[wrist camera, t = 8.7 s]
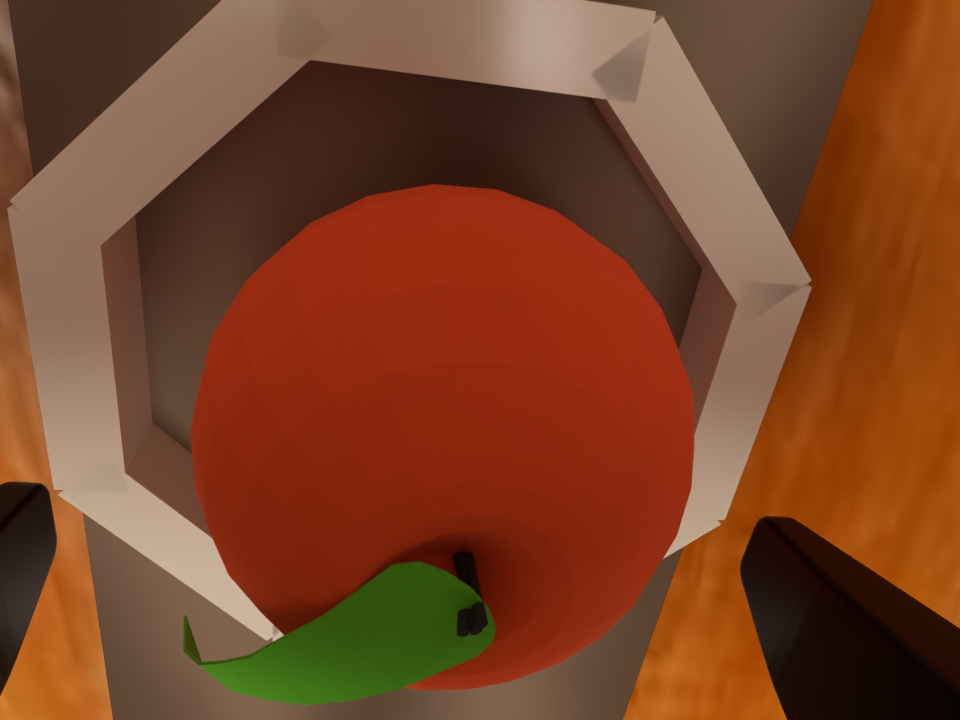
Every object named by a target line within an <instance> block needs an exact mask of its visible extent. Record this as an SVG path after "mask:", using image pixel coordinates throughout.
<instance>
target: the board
mask: <svg viewBox="0 0 960 720" xmlns="http://www.w3.org/2000/svg"><path fill="white" fill-rule="evenodd" d="M220 1H221V0H8V4H9V11H10V18H11V25H12V32H13V38H14V45H15V52H16V59H17V66H18V73H19V79H20V86H21V93H22V100H23V107H24V114H25V120H26V127H27V134H28V141H29V148H30V155H31V161H32V168H33V175H34V177H35V176H36V175H37V174H38V173H39V172H40V171H41V170H42V169H44V168H45V167H46V166H47V165H48V164H49V163H50V162H51V161H52V160H53V159H54V158H55V157H56V156H57V155H58V154H59V153H60V152H62V151H63V150H64V149H65V148H66V147H67V146H68V145H69V144H70V143H71V142H72V141H73V140H74V139H75V138H76V137H77V136H78V135H80V134H81V133H82V132H83V131H84V130H85V129H86V128H87V127H88V126H89V125H90V124H91V123H92V122H93V121H94V120H95V119H96V118H98V117H99V116H100V115H101V114H102V113H103V112H104V111H105V110H106V109H107V108H108V107H109V106H110V105H111V104H112V103H113V102H114V101H116V100H117V99H118V98H119V97H120V96H121V95H122V94H123V93H124V92H125V91H126V90H127V89H128V88H129V87H130V86H131V85H132V84H134V83H135V82H136V81H137V80H138V79H139V78H140V77H141V76H142V75H143V74H144V73H145V72H146V71H147V70H148V69H149V68H150V67H152V66H153V65H154V64H155V63H156V62H157V61H158V60H159V59H160V58H161V57H162V56H163V55H164V54H165V53H166V52H167V51H169V50H170V49H171V48H172V47H173V46H174V45H175V44H176V43H177V42H178V41H179V40H180V39H181V38H182V37H183V36H184V35H185V34H187V33H188V32H189V31H190V30H191V29H192V28H193V27H194V26H195V25H196V24H197V23H198V22H199V21H200V20H201V19H202V18H203V17H205V16H206V15H207V14H208V13H209V12H210V11H211V10H212V9H213V8H214V7H215V6H216V5H217V4H218V3H219V2H220ZM592 1H599V2H605V3H612V4H618V5H624V6H630V7H635V8H640V9H646V10H651V11H656V14H655V15H658V16H663V17H664V19H665V20H666V22H667V24H668V26H669V27H670V29H671V31H672V33H673V35H674V36H675V38H676V40H677V42H678V43H679V45H680V47H681V49H682V51H683V52H684V54H685V56H686V58H687V59H688V61H689V63H690V65H691V67H692V68H693V70H694V72H695V74H696V75H697V77H698V79H699V81H700V83H701V84H702V86H703V88H704V90H705V91H706V93H707V95H708V97H709V99H710V100H711V102H712V104H713V106H714V107H715V109H716V111H717V113H718V115H719V116H720V118H721V120H722V122H723V123H724V125H725V127H726V129H727V131H728V132H729V134H730V136H731V138H732V139H733V141H734V143H735V145H736V147H737V148H738V150H739V152H740V154H741V155H742V157H743V159H744V161H745V163H746V164H747V166H748V168H749V170H750V171H751V173H752V175H753V177H754V179H755V180H756V182H757V184H758V186H759V187H760V189H761V191H762V193H763V195H764V196H765V198H766V200H767V202H768V203H769V205H770V207H771V209H772V211H773V212H774V214H775V216H776V218H777V219H778V221H779V223H780V225H781V227H782V228H783V230H784V232H785V234H786V235H787V237H788V239H789V241H790V238H791V236H792V233H793V230H794V227H795V224H796V221H797V218H798V215H799V213H800V210H801V207H802V204H803V201H804V198H805V195H806V192H807V190H808V187H809V184H810V181H811V178H812V175H813V172H814V170H815V167H816V164H817V161H818V158H819V155H820V152H821V149H822V147H823V144H824V141H825V138H826V135H827V132H828V129H829V127H830V124H831V121H832V118H833V115H834V112H835V109H836V106H837V104H838V101H839V98H840V95H841V92H842V89H843V86H844V83H845V81H846V78H847V75H848V72H849V69H850V66H851V63H852V61H853V58H854V55H855V52H856V49H857V46H858V43H859V40H860V38H861V35H862V32H863V29H864V26H865V23H866V20H867V17H868V15H869V12H870V9H871V6H872V3H873V0H592ZM431 184H437V185H449V186H461V187H473V188H486V189H497V190H500V191H503V192H506V193H508V194H511V195H514V196H517V197H519V198H522V199H525V200H528V201H530V202H533V203H536V204H539V205H541V206H544V207H547V208H550V209H552V210H555V211H557V212H558V213H560V214H561V215H562V216H564V217H565V218H567V219H568V220H570V221H571V222H573V223H574V224H575V225H577V226H578V227H580V228H581V229H582V230H584V231H585V232H586V233H588V234H589V235H591V236H592V237H593V238H595V239H596V240H597V241H599V242H600V243H602V244H603V245H604V246H606V247H607V248H608V249H610V250H611V251H613V252H614V253H615V254H617V255H618V256H620V257H621V258H622V259H624V260H625V261H626V262H627V263H628V265H629V266H630V267H631V269H632V270H633V271H634V273H635V274H636V275H637V277H638V278H639V279H640V281H641V282H642V283H643V285H644V286H645V287H646V289H647V290H648V291H649V293H650V294H651V295H652V297H653V298H654V299H655V301H656V302H657V303H658V305H659V306H660V307H661V309H662V311H663V313H664V316H665V318H666V321H667V323H668V325H669V328H670V330H671V333H672V335H673V337H674V340H675V342H676V345H677V348H678V350H679V347H680V344H681V340H682V337H683V334H684V330H685V327H686V323H687V320H688V317H689V313H690V310H691V307H692V303H693V300H694V296H695V293H696V290H697V286H698V283H699V280H700V276H701V273H702V268H701V266H700V265H699V263H698V262H697V260H696V259H695V257H694V255H693V254H692V252H691V251H690V249H689V248H688V246H687V245H686V243H685V242H684V240H683V238H682V237H681V235H680V234H679V232H678V231H677V229H676V228H675V226H674V225H673V223H672V221H671V220H670V218H669V217H668V215H667V214H666V212H665V211H664V209H663V208H662V206H661V204H660V203H659V201H658V200H657V198H656V197H655V195H654V194H653V192H652V190H651V189H650V187H649V186H648V184H647V183H646V181H645V180H644V178H643V177H642V175H641V173H640V172H639V170H638V169H637V167H636V166H635V164H634V163H633V161H632V160H631V158H630V156H629V155H628V153H627V152H626V150H625V149H624V147H623V146H622V144H621V143H620V141H619V139H618V138H617V136H616V135H615V133H614V132H613V130H612V129H611V127H610V125H609V124H608V122H607V121H606V119H605V118H604V116H603V115H602V113H601V112H600V110H599V108H598V107H597V105H596V104H595V102H594V101H593V99H592V98H591V97H585V96H578V95H570V94H563V93H555V92H548V91H540V90H533V89H525V88H518V87H510V86H503V85H495V84H488V83H480V82H473V81H465V80H458V79H450V78H443V77H435V76H428V75H420V74H413V73H405V72H398V71H390V70H383V69H375V68H368V67H360V66H353V65H345V64H338V63H330V62H323V61H315V60H309V61H308V62H307V63H306V64H305V65H304V66H302V67H301V68H300V69H299V70H298V71H297V72H296V73H295V74H293V75H292V76H291V77H290V78H289V79H288V80H287V81H285V82H284V83H283V84H282V85H281V86H280V87H279V88H278V89H276V90H275V91H274V92H273V93H272V94H271V95H270V96H269V97H267V98H266V99H265V100H264V101H263V102H262V103H261V104H260V105H258V106H257V107H256V108H255V109H254V110H253V111H252V112H251V113H249V114H248V115H247V116H246V117H245V118H244V119H243V120H241V121H240V122H239V123H238V124H237V125H236V126H235V127H234V128H232V129H231V130H230V131H229V132H228V133H227V134H226V135H225V136H223V137H222V138H221V139H220V140H219V141H218V142H217V143H216V144H214V145H213V146H212V147H211V148H210V149H209V150H208V151H206V152H205V153H204V154H203V155H202V156H201V157H200V158H199V159H197V160H196V161H195V162H194V163H193V164H192V165H191V166H190V167H188V168H187V169H186V170H185V171H184V172H183V173H182V174H181V175H179V176H178V177H177V178H176V179H175V180H174V181H173V182H171V183H170V184H169V185H168V186H167V187H166V188H165V189H164V190H162V191H161V192H160V193H159V194H158V195H157V196H156V197H155V198H153V199H152V200H151V201H150V202H149V203H148V204H147V205H146V206H144V207H143V208H142V209H141V210H140V211H139V212H138V213H137V214H135V219H136V231H137V243H138V255H139V267H140V279H141V291H142V302H143V314H144V326H145V338H146V350H147V362H148V374H149V386H150V398H151V410H152V422H153V423H154V424H155V425H157V426H158V427H159V428H160V429H162V430H163V431H164V432H165V433H167V434H168V435H169V436H170V437H172V438H173V439H174V440H175V441H177V442H178V443H179V444H180V445H182V446H183V447H184V448H185V449H187V450H188V451H189V452H190V453H192V445H191V433H190V430H191V425H192V420H193V415H194V409H195V404H196V399H197V394H198V389H199V385H200V381H201V377H202V373H203V369H204V365H205V361H206V357H207V353H208V349H209V345H210V341H211V337H212V335H213V333H214V332H215V330H216V329H217V327H218V325H219V324H220V322H221V321H222V319H223V317H224V316H225V314H226V313H227V311H228V309H229V308H230V306H231V305H232V303H233V301H234V300H235V298H236V297H237V295H238V293H239V292H240V290H241V289H242V287H243V285H244V284H245V282H246V281H247V280H248V279H249V278H250V277H251V276H252V275H253V274H254V273H255V272H256V271H257V270H258V269H259V268H260V267H261V266H262V265H263V264H264V263H265V262H266V261H267V260H268V259H270V258H271V257H272V256H273V255H274V254H275V253H276V252H278V251H279V250H280V249H281V248H282V247H283V246H285V245H286V244H287V243H288V242H289V241H290V240H291V239H293V238H294V237H295V236H296V235H297V234H298V233H299V232H301V231H302V230H303V229H304V228H305V227H306V226H307V225H309V224H310V223H311V222H314V221H316V220H318V219H320V218H322V217H324V216H326V215H328V214H331V213H333V212H335V211H337V210H339V209H341V208H343V207H345V206H347V205H350V204H352V203H354V202H356V201H358V200H360V199H362V198H364V197H367V196H369V195H375V194H380V193H386V192H392V191H397V190H403V189H408V188H414V187H419V186H425V185H431ZM83 517H84V524H85V530H86V537H87V544H88V551H89V558H90V565H91V571H92V578H93V585H94V592H95V599H96V605H97V612H98V619H99V626H100V633H101V640H102V646H103V653H104V660H105V667H106V674H107V681H108V687H109V694H110V701H111V708H112V715H113V720H623V718H624V715H625V712H626V709H627V706H628V703H629V700H630V697H631V695H632V692H633V689H634V686H635V683H636V680H637V677H638V675H639V672H640V669H641V666H642V663H643V660H644V657H645V654H646V652H647V649H648V646H649V643H650V640H651V637H652V634H653V632H654V629H655V626H656V623H657V620H658V617H659V614H660V611H661V609H662V606H663V603H664V600H665V597H666V594H667V591H668V588H669V586H670V583H671V580H672V577H673V574H674V571H675V568H676V566H677V563H678V560H679V557H680V554H681V551H682V548H683V547H682V548H681V549H679V550H677V551H676V552H674V553H672V554H671V555H669V556H667V557H666V558H664V559H663V560H662V561H661V563H660V564H659V566H658V568H657V569H656V571H655V573H654V574H653V576H652V577H651V579H650V580H649V582H648V584H647V585H646V587H645V588H644V590H643V591H642V593H641V594H640V596H639V598H638V599H637V601H636V602H635V604H634V605H633V607H632V608H631V609H630V610H629V611H628V612H627V613H626V614H625V615H624V616H623V617H622V618H621V619H620V620H619V621H617V622H616V623H615V624H614V625H613V626H612V627H611V628H610V629H609V630H608V631H607V632H606V633H605V634H604V635H603V636H602V637H601V638H600V639H598V640H597V641H595V642H593V643H592V644H590V645H588V646H587V647H585V648H583V649H582V650H580V651H579V652H577V653H575V654H574V655H572V656H570V657H569V658H567V659H566V660H564V661H562V662H561V663H559V664H556V665H554V666H551V667H548V668H546V669H543V670H541V671H538V672H535V673H533V674H530V675H527V676H525V677H522V678H519V679H517V680H514V681H510V682H506V683H501V684H496V685H490V686H485V687H480V688H474V689H469V690H414V689H408V688H402V689H399V690H395V691H391V692H387V693H383V694H379V695H375V696H370V697H366V698H362V699H358V700H354V701H346V702H335V703H324V704H313V705H300V704H293V703H285V702H277V701H269V700H264V699H260V698H256V697H252V696H249V695H245V694H241V693H237V692H233V691H231V690H229V689H228V688H227V687H225V686H224V685H223V684H222V683H220V682H219V681H218V680H216V679H215V678H214V677H213V676H211V675H210V674H209V673H208V672H206V671H205V670H204V669H202V668H201V667H200V666H199V665H197V664H196V663H195V662H194V661H193V660H192V659H191V658H190V657H189V656H188V655H187V654H186V653H185V652H183V621H184V616H185V615H186V616H187V619H188V622H189V625H190V628H191V631H192V634H193V637H194V640H195V643H196V645H197V648H198V651H199V654H200V657H201V660H202V662H208V661H220V660H227V659H231V658H236V657H240V656H245V655H250V654H252V653H254V652H255V651H257V650H259V649H261V648H263V647H264V646H266V645H268V644H270V643H271V642H273V637H272V638H270V639H269V640H267V641H266V640H265V639H263V638H262V637H260V636H259V635H258V634H256V633H255V632H253V631H252V630H250V629H249V628H248V627H246V626H245V625H243V624H242V623H240V622H239V621H238V620H236V619H235V618H233V617H232V616H230V615H229V614H228V613H226V612H225V611H223V610H222V609H220V608H219V607H217V606H216V605H215V604H213V603H212V602H210V601H209V600H207V599H206V598H205V597H203V596H202V595H200V594H199V593H197V592H196V591H195V590H193V589H192V588H190V587H189V586H187V585H186V584H185V583H183V582H182V581H180V580H179V579H177V578H176V577H175V576H173V575H172V574H170V573H169V572H167V571H166V570H164V569H163V568H162V567H160V566H159V565H157V564H156V563H154V562H153V561H152V560H150V559H149V558H147V557H146V556H144V555H143V554H142V553H140V552H139V551H137V550H136V549H134V548H133V547H132V546H130V545H129V544H127V543H126V542H124V541H123V540H122V539H120V538H119V537H117V536H116V535H114V534H113V533H112V532H110V531H109V530H107V529H106V528H104V527H103V526H101V525H100V524H99V523H97V522H96V521H94V520H93V519H91V518H90V517H89V516H87V515H86V514H84V513H83Z"/></svg>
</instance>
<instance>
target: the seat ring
mask: <svg viewBox="0 0 960 720" xmlns="http://www.w3.org/2000/svg"><path fill="white" fill-rule="evenodd" d="M655 14H656V11H651V10H646V9H640V8H635V7H630V6H624V5H618V4H612V3H605V2H599V1H592V0H221V1H220V2H219V3H218V4H217V5H216V6H215V7H214V8H213V9H212V10H211V11H210V12H209V13H208V14H207V15H206V16H205V17H203V18H202V19H201V20H200V21H199V22H198V23H197V24H196V25H195V26H194V27H193V28H192V29H191V30H190V31H189V32H188V33H187V34H185V35H184V36H183V37H182V38H181V39H180V40H179V41H178V42H177V43H176V44H175V45H174V46H173V47H172V48H171V49H170V50H169V51H167V52H166V53H165V54H164V55H163V56H162V57H161V58H160V59H159V60H158V61H157V62H156V63H155V64H154V65H153V66H152V67H150V68H149V69H148V70H147V71H146V72H145V73H144V74H143V75H142V76H141V77H140V78H139V79H138V80H137V81H136V82H135V83H134V84H132V85H131V86H130V87H129V88H128V89H127V90H126V91H125V92H124V93H123V94H122V95H121V96H120V97H119V98H118V99H117V100H116V101H114V102H113V103H112V104H111V105H110V106H109V107H108V108H107V109H106V110H105V111H104V112H103V113H102V114H101V115H100V116H99V117H98V118H96V119H95V120H94V121H93V122H92V123H91V124H90V125H89V126H88V127H87V128H86V129H85V130H84V131H83V132H82V133H81V134H80V135H78V136H77V137H76V138H75V139H74V140H73V141H72V142H71V143H70V144H69V145H68V146H67V147H66V148H65V149H64V150H63V151H62V152H60V153H59V154H58V155H57V156H56V157H55V158H54V159H53V160H52V161H51V162H50V163H49V164H48V165H47V166H46V167H45V168H44V169H42V170H41V171H40V172H39V173H38V174H37V175H36V176H35V177H34V178H33V179H32V180H31V181H30V182H29V183H28V184H27V185H26V186H24V187H23V188H22V189H21V190H20V191H19V192H18V193H17V194H16V195H15V196H14V197H13V198H12V199H11V200H10V202H11V203H12V204H13V205H12V206H10V207H9V208H7V211H8V217H9V223H10V229H11V235H12V241H13V247H14V253H15V259H16V265H17V271H18V277H19V283H20V289H21V295H22V301H23V307H24V313H25V319H26V325H27V331H28V337H29V343H30V349H31V355H32V361H33V367H34V373H35V379H36V385H37V391H38V397H39V403H40V409H41V415H42V421H43V427H44V433H45V439H46V445H47V451H48V457H49V463H50V469H51V475H52V481H53V487H54V490H61V491H60V492H59V494H58V495H59V496H60V497H61V498H63V499H64V500H66V501H67V502H69V503H70V504H71V505H73V506H74V507H76V508H77V509H79V510H80V511H81V512H83V513H84V514H86V515H87V516H89V517H90V518H91V519H93V520H94V521H96V522H97V523H99V524H100V525H101V526H103V527H104V528H106V529H107V530H109V531H110V532H112V533H113V534H114V535H116V536H117V537H119V538H120V539H122V540H123V541H124V542H126V543H127V544H129V545H130V546H132V547H133V548H134V549H136V550H137V551H139V552H140V553H142V554H143V555H144V556H146V557H147V558H149V559H150V560H152V561H153V562H154V563H156V564H157V565H159V566H160V567H162V568H163V569H164V570H166V571H167V572H169V573H170V574H172V575H173V576H175V577H176V578H177V579H179V580H180V581H182V582H183V583H185V584H186V585H187V586H189V587H190V588H192V589H193V590H195V591H196V592H197V593H199V594H200V595H202V596H203V597H205V598H206V599H207V600H209V601H210V602H212V603H213V604H215V605H216V606H217V607H219V608H220V609H222V610H223V611H225V612H226V613H228V614H229V615H230V616H232V617H233V618H235V619H236V620H238V621H239V622H240V623H242V624H243V625H245V626H246V627H248V628H249V629H250V630H252V631H253V632H255V633H256V634H258V635H259V636H260V637H262V638H263V639H265V640H266V641H267V640H269V639H270V638H272V637H273V641H275V640H277V639H279V638H280V637H282V636H284V635H283V634H282V633H281V632H280V631H279V630H278V629H277V628H276V627H275V626H274V625H273V624H272V623H271V622H270V621H269V620H268V619H267V618H266V617H265V616H264V615H263V614H262V613H261V612H260V611H259V610H258V608H257V607H256V606H255V605H254V604H253V603H252V602H251V600H250V599H249V598H248V597H247V596H246V595H245V593H244V592H243V591H242V590H241V589H240V588H239V587H238V585H237V584H236V583H235V582H234V581H233V580H232V578H231V577H230V576H229V575H228V573H227V570H226V568H225V566H224V564H223V561H222V559H221V557H220V555H219V552H218V550H217V548H216V545H215V543H214V541H213V539H212V536H211V534H210V532H209V529H208V527H207V524H206V520H205V517H204V514H203V511H202V507H201V504H200V501H199V498H198V494H197V491H196V488H195V478H194V467H193V456H192V453H190V452H189V451H188V450H187V449H185V448H184V447H183V446H182V445H180V444H179V443H178V442H177V441H175V440H174V439H173V438H172V437H170V436H169V435H168V434H167V433H165V432H164V431H163V430H162V429H160V428H159V427H158V426H157V425H155V424H154V423H153V422H152V410H151V398H150V386H149V374H148V362H147V350H146V338H145V326H144V314H143V302H142V291H141V279H140V267H139V255H138V243H137V231H136V219H135V214H137V213H138V212H139V211H140V210H141V209H142V208H143V207H144V206H146V205H147V204H148V203H149V202H150V201H151V200H152V199H153V198H155V197H156V196H157V195H158V194H159V193H160V192H161V191H162V190H164V189H165V188H166V187H167V186H168V185H169V184H170V183H171V182H173V181H174V180H175V179H176V178H177V177H178V176H179V175H181V174H182V173H183V172H184V171H185V170H186V169H187V168H188V167H190V166H191V165H192V164H193V163H194V162H195V161H196V160H197V159H199V158H200V157H201V156H202V155H203V154H204V153H205V152H206V151H208V150H209V149H210V148H211V147H212V146H213V145H214V144H216V143H217V142H218V141H219V140H220V139H221V138H222V137H223V136H225V135H226V134H227V133H228V132H229V131H230V130H231V129H232V128H234V127H235V126H236V125H237V124H238V123H239V122H240V121H241V120H243V119H244V118H245V117H246V116H247V115H248V114H249V113H251V112H252V111H253V110H254V109H255V108H256V107H257V106H258V105H260V104H261V103H262V102H263V101H264V100H265V99H266V98H267V97H269V96H270V95H271V94H272V93H273V92H274V91H275V90H276V89H278V88H279V87H280V86H281V85H282V84H283V83H284V82H285V81H287V80H288V79H289V78H290V77H291V76H292V75H293V74H295V73H296V72H297V71H298V70H299V69H300V68H301V67H302V66H304V65H305V64H306V63H307V62H308V61H309V60H315V61H323V62H330V63H338V64H345V65H353V66H360V67H368V68H375V69H383V70H390V71H398V72H405V73H413V74H420V75H428V76H435V77H443V78H450V79H458V80H465V81H473V82H480V83H488V84H495V85H503V86H510V87H518V88H525V89H533V90H540V91H548V92H555V93H563V94H570V95H578V96H585V97H591V98H592V99H593V101H594V102H595V104H596V105H597V107H598V108H599V110H600V112H601V113H602V115H603V116H604V118H605V119H606V121H607V122H608V124H609V125H610V127H611V129H612V130H613V132H614V133H615V135H616V136H617V138H618V139H619V141H620V143H621V144H622V146H623V147H624V149H625V150H626V152H627V153H628V155H629V156H630V158H631V160H632V161H633V163H634V164H635V166H636V167H637V169H638V170H639V172H640V173H641V175H642V177H643V178H644V180H645V181H646V183H647V184H648V186H649V187H650V189H651V190H652V192H653V194H654V195H655V197H656V198H657V200H658V201H659V203H660V204H661V206H662V208H663V209H664V211H665V212H666V214H667V215H668V217H669V218H670V220H671V221H672V223H673V225H674V226H675V228H676V229H677V231H678V232H679V234H680V235H681V237H682V238H683V240H684V242H685V243H686V245H687V246H688V248H689V249H690V251H691V252H692V254H693V255H694V257H695V259H696V260H697V262H698V263H699V265H700V266H701V268H702V273H701V276H700V280H699V283H698V286H697V290H696V293H695V296H694V300H693V303H692V307H691V310H690V313H689V317H688V320H687V323H686V327H685V330H684V334H683V337H682V340H681V344H680V347H679V350H678V351H679V354H680V357H681V360H682V363H683V365H684V368H685V371H686V374H687V377H688V380H689V383H690V386H691V389H692V392H693V395H694V460H693V473H692V486H691V491H690V495H689V498H688V501H687V505H686V508H685V511H684V514H683V518H682V521H681V524H680V528H679V531H678V534H677V537H676V538H675V540H674V542H673V543H672V545H671V547H670V548H669V550H668V551H667V553H666V555H665V556H664V558H666V557H667V556H669V555H671V554H672V553H674V552H676V551H677V550H679V549H681V548H682V547H684V546H686V545H687V544H689V543H691V542H692V541H694V540H696V539H697V538H699V537H701V536H702V535H704V534H706V533H707V532H709V531H711V530H712V529H714V528H716V527H717V526H719V525H721V524H720V522H719V520H725V518H726V516H727V513H728V510H729V508H730V505H731V502H732V500H733V497H734V494H735V492H736V489H737V486H738V484H739V481H740V478H741V476H742V473H743V470H744V468H745V465H746V462H747V460H748V457H749V454H750V452H751V449H752V446H753V444H754V441H755V438H756V436H757V433H758V430H759V428H760V425H761V422H762V420H763V417H764V414H765V412H766V409H767V406H768V404H769V401H770V398H771V396H772V393H773V390H774V388H775V385H776V382H777V380H778V377H779V374H780V372H781V369H782V366H783V364H784V361H785V358H786V356H787V353H788V350H789V348H790V345H791V342H792V340H793V337H794V334H795V332H796V329H797V326H798V324H799V321H800V318H801V316H802V313H803V310H804V308H805V305H806V302H807V300H808V297H809V294H810V292H811V289H812V287H811V286H810V285H809V284H807V283H809V282H810V281H812V280H811V278H810V276H809V275H808V273H807V271H806V269H805V267H804V266H803V264H802V262H801V260H800V259H799V257H798V255H797V253H796V251H795V250H794V248H793V246H792V244H791V243H790V241H789V239H788V237H787V235H786V234H785V232H784V230H783V228H782V227H781V225H780V223H779V221H778V219H777V218H776V216H775V214H774V212H773V211H772V209H771V207H770V205H769V203H768V202H767V200H766V198H765V196H764V195H763V193H762V191H761V189H760V187H759V186H758V184H757V182H756V180H755V179H754V177H753V175H752V173H751V171H750V170H749V168H748V166H747V164H746V163H745V161H744V159H743V157H742V155H741V154H740V152H739V150H738V148H737V147H736V145H735V143H734V141H733V139H732V138H731V136H730V134H729V132H728V131H727V129H726V127H725V125H724V123H723V122H722V120H721V118H720V116H719V115H718V113H717V111H716V109H715V107H714V106H713V104H712V102H711V100H710V99H709V97H708V95H707V93H706V91H705V90H704V88H703V86H702V84H701V83H700V81H699V79H698V77H697V75H696V74H695V72H694V70H693V68H692V67H691V65H690V63H689V61H688V59H687V58H686V56H685V54H684V52H683V51H682V49H681V47H680V45H679V43H678V42H677V40H676V38H675V36H674V35H673V33H672V31H671V29H670V27H669V26H668V24H667V22H666V20H665V19H664V17H663V16H658V15H655ZM664 558H663V559H664Z"/></svg>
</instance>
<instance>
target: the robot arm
mask: <svg viewBox="0 0 960 720" xmlns="http://www.w3.org/2000/svg"><path fill="white" fill-rule="evenodd" d="M56 547H57V534H56V528H55V522H54V517H53V511H52V505H51V499H50V494H49V491H48V489H47V487H46V486H45V485H43V484H41V483H32V482H6V483H3V484H1V485H0V695H1V693H2V691H3V689H4V687H5V685H6V683H7V680H8V678H9V676H10V674H11V671H12V669H13V666H14V664H15V661H16V659H17V656H18V653H19V651H20V648H21V645H22V643H23V640H24V637H25V635H26V632H27V629H28V627H29V624H30V621H31V619H32V616H33V613H34V610H35V608H36V605H37V602H38V600H39V597H40V594H41V592H42V589H43V586H44V584H45V581H46V578H47V575H48V573H49V570H50V567H51V565H52V562H53V559H54V556H55V552H56ZM740 575H741V580H742V584H743V587H744V591H745V594H746V597H747V601H748V604H749V607H750V611H751V614H752V617H753V621H754V624H755V627H756V631H757V634H758V638H759V641H760V644H761V648H762V651H763V654H764V658H765V661H766V664H767V668H768V671H769V674H770V677H771V680H772V683H773V685H774V688H775V690H776V693H777V696H778V698H779V701H780V703H781V706H782V708H783V711H784V713H785V716H786V718H787V720H960V628H958V627H957V626H955V625H954V624H952V623H951V622H949V621H948V620H946V619H945V618H943V617H942V616H940V615H939V614H937V613H936V612H934V611H933V610H931V609H930V608H928V607H926V606H925V605H923V604H922V603H920V602H919V601H917V600H916V599H914V598H913V597H911V596H910V595H908V594H907V593H905V592H904V591H902V590H901V589H899V588H898V587H896V586H895V585H893V584H892V583H890V582H889V581H887V580H886V579H884V578H883V577H881V576H880V575H878V574H877V573H875V572H874V571H872V570H871V569H869V568H868V567H866V566H865V565H863V564H861V563H860V562H858V561H857V560H855V559H854V558H852V557H851V556H849V555H848V554H846V553H845V552H843V551H842V550H840V549H839V548H837V547H836V546H834V545H833V544H831V543H830V542H828V541H827V540H825V539H824V538H822V537H821V536H819V535H818V534H816V533H815V532H813V531H812V530H810V529H809V528H807V527H806V526H804V525H803V524H801V523H799V522H798V521H796V520H795V519H793V518H790V517H776V516H765V517H762V518H760V519H759V520H758V521H757V523H756V525H755V527H754V530H753V532H752V535H751V537H750V540H749V542H748V545H747V547H746V550H745V552H744V555H743V557H742V560H741V565H740Z"/></svg>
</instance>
